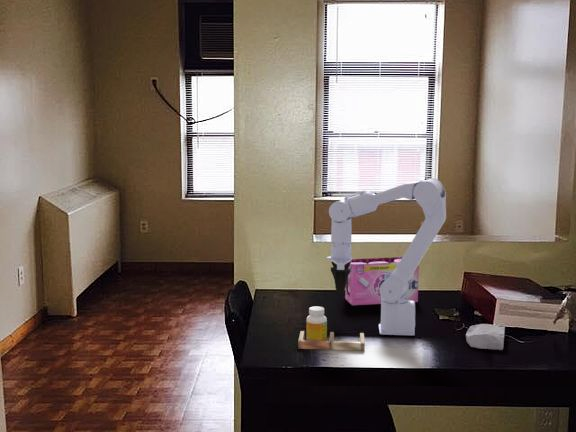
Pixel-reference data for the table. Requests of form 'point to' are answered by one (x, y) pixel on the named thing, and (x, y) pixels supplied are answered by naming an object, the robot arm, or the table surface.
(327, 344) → the e-shaped wooden frame
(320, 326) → the supplement bottle
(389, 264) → the gum box
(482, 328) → the stone block
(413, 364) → the table surface
